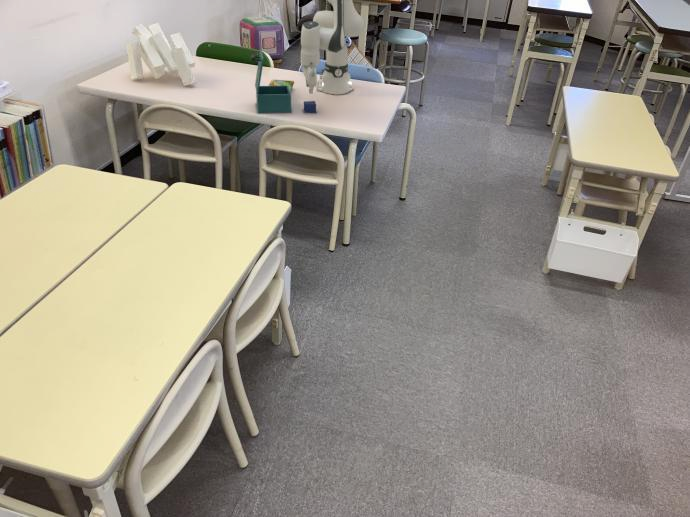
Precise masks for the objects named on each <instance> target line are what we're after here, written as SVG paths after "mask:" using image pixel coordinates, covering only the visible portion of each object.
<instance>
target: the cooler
mask: <svg viewBox="0 0 690 517" xmlns="http://www.w3.org/2000/svg"><path fill="white" fill-rule="evenodd" d="M255 96H256V97H255V98H256V107H257V113H258V114H280V113H282V114H283V113H284V114H285V113H292V94H291V92H290V90H289V87H288V86H269V85H260V87H259V94H257V93H256V92H255Z"/></svg>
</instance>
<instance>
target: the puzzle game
mask: <svg viewBox="0 0 690 517" xmlns="http://www.w3.org/2000/svg"><path fill="white" fill-rule="evenodd" d="M294 84H295V80H284V79H271V81H270V83H269V84H268V86H288V87H289V90H290V93H291V91H292V89H293V87H294Z"/></svg>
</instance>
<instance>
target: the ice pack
mask: <svg viewBox="0 0 690 517" xmlns="http://www.w3.org/2000/svg"><path fill="white" fill-rule="evenodd" d="M302 110H303V113H304V114H315V113H316V114H317V102H316V101H315V100H305V101H303V108H302Z"/></svg>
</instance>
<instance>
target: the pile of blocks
mask: <svg viewBox="0 0 690 517" xmlns="http://www.w3.org/2000/svg"><path fill="white" fill-rule="evenodd" d="M131 33H132V34H133V35H134V36H135V37H136V38H137V39H138V41H139V42H138V41H137V42H136V41H129V42H127V43H125V46H126V47H125V48H126V53H127V60H128V66H129V73H130V78H131V80H141V79H144V78H145V76H144V70H143V64H142V61H143V62H144V64H145V66H146V67H147V68H148V70H149V71H150V73H151V75H152V76H153V77H154V79H155V80H158V79H159V78H160V77H162V76H164V75H165V74H167V71H168V72H170V73H171V75H172V76H173V77H174V76H177V75H179V76H180V78H181V81H182V84H183V86H184V87H185V86H189V85H191V84H195V83H196V79H195V77H194V73H193V72H192V68H194V67H195V66H196V62H195V60H194V58H193V56H192V54H191V52H190V50H189V48H188V46H187V44H186V42H185V40H184V38H183V36H182V34H181V32H180V31H179V32H175V33H174V34H170V35H169V40H170V43H171V44H172V46H173V48H174V49H172V47H171V45H170V43H169V41H168V39H167V37H166V35H165V33H164V31H163V29H162V27H161V25H160V23H159V22H155V23H152V24H149V25H148V29H147V27H145V26H144V25H143V24H142V23H139V24H138V25H137V26H135V27H134V28H133V30H132V32H131ZM139 43H140V44H139ZM166 69H167V71H166Z"/></svg>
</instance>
